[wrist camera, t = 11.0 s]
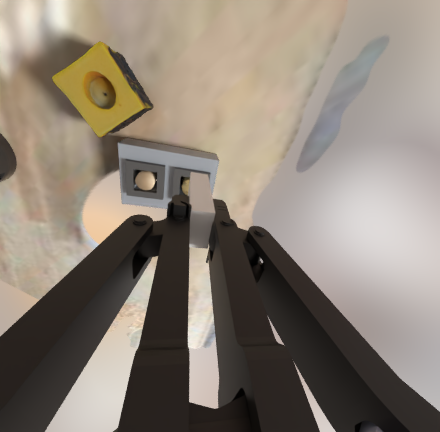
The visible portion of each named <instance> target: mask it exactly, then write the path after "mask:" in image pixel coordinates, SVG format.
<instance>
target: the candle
mask: <svg viewBox="0 0 440 432" xmlns="http://www.w3.org/2000/svg"><path fill="white" fill-rule="evenodd" d="M52 80H53V82H54V83H55V84H56V85H57V86H58V87H59V89H60V90H61V91H62V92H63V93H64V94H65V95H66V96H67V97H68V99H69V100H70V101H71V103H72V104H73V105H74V106H75V107H76V109H77V110H78V111H79V112H80V114H81V115H82V116H83V118H84V119H85V120H86V122H87V123H88V124H89V125H90V127H91V128H92V129H93V131H94V132H95V133H96V135H97V136H98V137H102V136H104V135H106V134H108V133H114V132H117V131H119V130H120V129H122V128H124V127H125V126H128V125H129V124H130V123H132V122H133V121H135V120H136V119H137V118H139V117H141V116H142V115H143V114H144V113H146V112H147V111H149V110H151V109H152V108H153V104H152V103H151V102H150V100H149V98H148V97H147V95H146V94H145V92H144V90H143V88H142V86H141V85H140V83H139V82H138V80H137V79H136V77H135V75H134V73H133V71H132V70H131V69H130V68H129V66H128V64H127V62H126V60H125V58H124V57H123V56H122V55H121V54H120V53H118V52H114V51H113V50H112V49H110V47H109V46H107V45H106V44H104V43H103V42H98V43H97V44H95V45H94V46H93V47H92V48H91V49H89V50H88V51H87V53H86V54H84V55H83V56H81V57H80V58H79V59H78V60H76V61H75V62H73V63H72V64H71V65H69V66H68V67H67V68H65V69H63V70H62V71H60V72H58V73H57V74H55V75H54V76H53V77H52Z"/></svg>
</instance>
